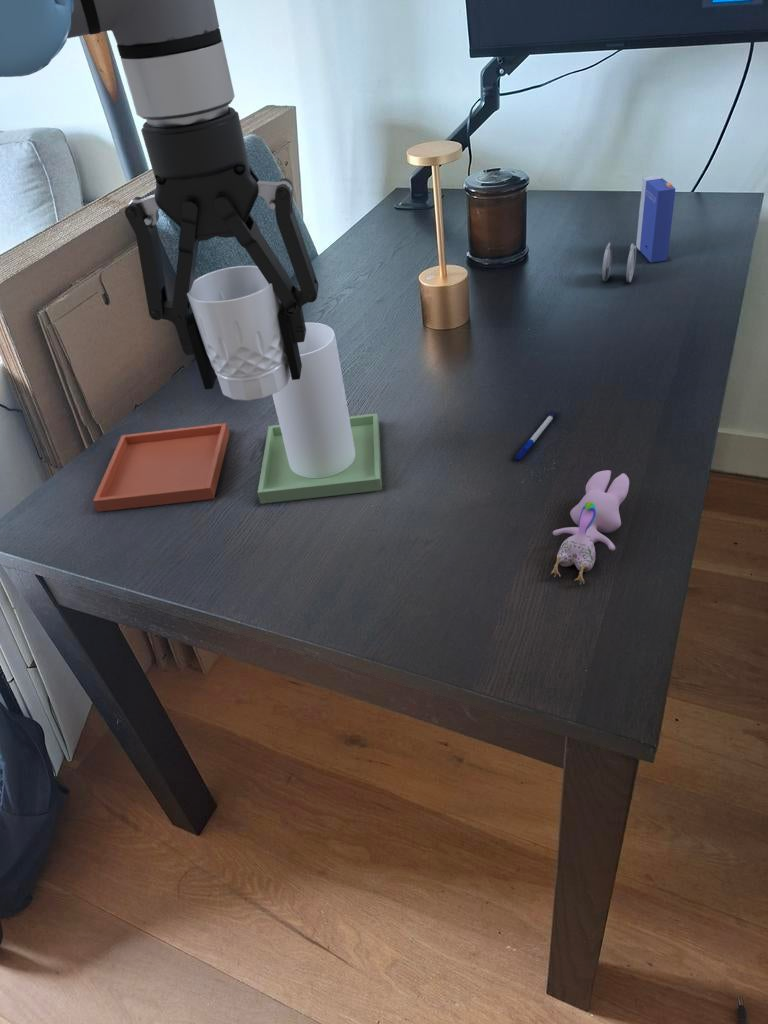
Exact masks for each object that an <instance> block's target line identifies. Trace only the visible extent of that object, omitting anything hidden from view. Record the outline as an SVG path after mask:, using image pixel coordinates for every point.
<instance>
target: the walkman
mask: <svg viewBox="0 0 768 1024" xmlns="http://www.w3.org/2000/svg"><path fill="white" fill-rule="evenodd" d="M676 190H677V189H676V188H675V187H674V185H673V183H671V182H668V181H667V180H666V179H664V178H663V177H661V175H659V174H657V175H652V176H651V175H648V176H642V181H641V190H640V191H641V192H640V200H639V212H638V222H637V231H636V232H637V233H636V243H635V246H636V249H637V250H638V251H639V252H640V253H641V254H642V255H643V256H644V257H645V258H646V259H647V260H648V261H649V262H650V263H657V262H659V263H660V262H666V261H668V256H669V247H670V241H671V240H670V239H671V231H672V224H673V223H672V221H673V216H674V215H673V213H674V207H675V196H676Z"/></svg>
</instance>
